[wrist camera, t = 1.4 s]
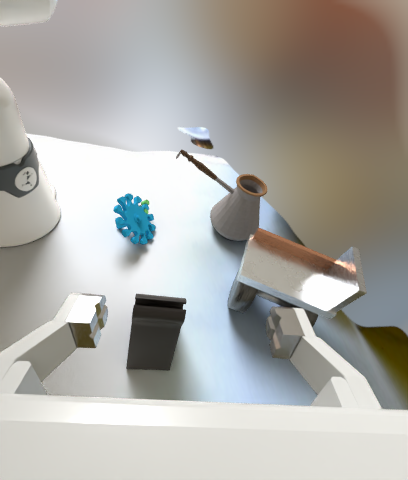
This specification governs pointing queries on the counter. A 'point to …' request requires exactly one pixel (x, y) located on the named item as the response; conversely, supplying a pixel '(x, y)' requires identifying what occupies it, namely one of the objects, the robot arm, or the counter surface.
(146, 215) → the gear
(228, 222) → the coffee pot
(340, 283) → the trolley
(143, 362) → the phone stand
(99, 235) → the counter surface
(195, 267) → the counter surface
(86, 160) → the counter surface
